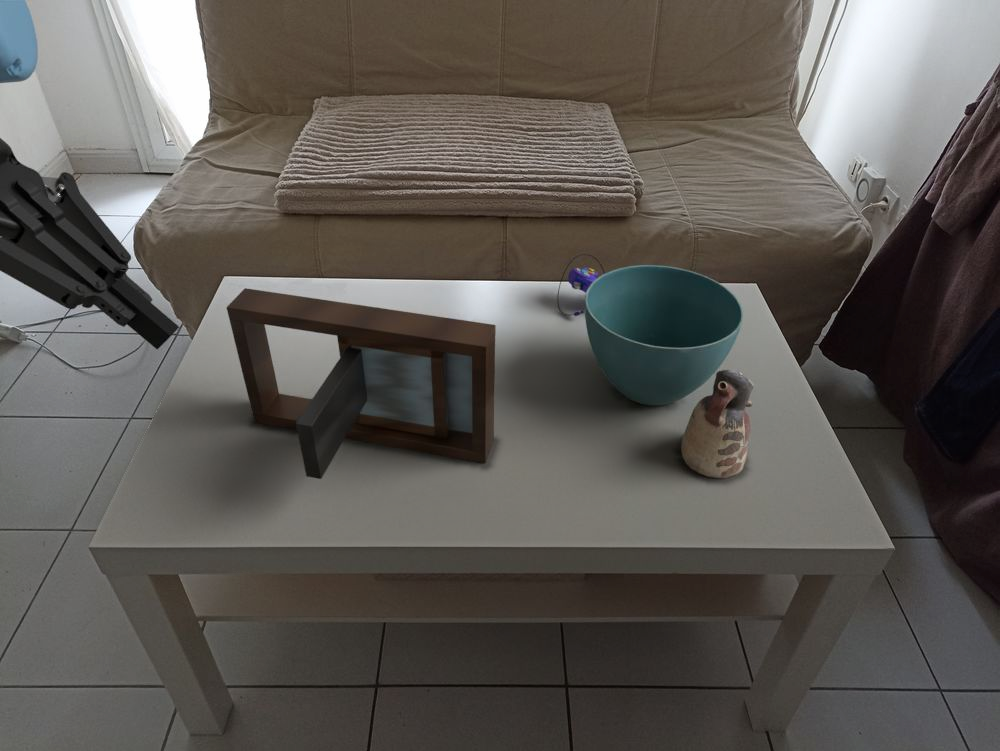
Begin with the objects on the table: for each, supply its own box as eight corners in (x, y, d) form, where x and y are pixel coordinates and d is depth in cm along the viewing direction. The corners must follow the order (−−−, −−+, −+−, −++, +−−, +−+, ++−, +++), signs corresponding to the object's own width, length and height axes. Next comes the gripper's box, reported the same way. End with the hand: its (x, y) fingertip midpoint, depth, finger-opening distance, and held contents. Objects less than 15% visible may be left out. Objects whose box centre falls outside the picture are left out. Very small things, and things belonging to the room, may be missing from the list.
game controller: (631, 265, 111) (641, 288, 102) (610, 313, 115) (617, 339, 106) (569, 243, 110) (573, 264, 101) (549, 292, 114) (551, 317, 105)
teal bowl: (549, 393, 93) (555, 310, 86) (619, 327, 105) (630, 249, 98) (684, 455, 85) (704, 369, 78) (744, 376, 97) (766, 294, 89)
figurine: (756, 459, 85) (783, 375, 77) (719, 489, 81) (744, 404, 74) (704, 427, 89) (725, 344, 82) (667, 454, 85) (685, 370, 78)
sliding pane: (302, 500, 76) (282, 407, 69) (352, 416, 87) (339, 327, 79) (410, 522, 74) (403, 428, 67) (448, 433, 85) (445, 344, 77)
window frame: (254, 422, 88) (226, 307, 78) (270, 401, 91) (244, 287, 81) (485, 463, 83) (486, 346, 74) (493, 439, 87) (495, 324, 77)
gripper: (-16, 145, 70) (188, 320, 77) (-141, 203, 60) (107, 398, 67) (11, 92, 66) (224, 282, 73) (-118, 145, 56) (144, 360, 63)
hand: (168, 338), depth 70 cm, fingers closed
